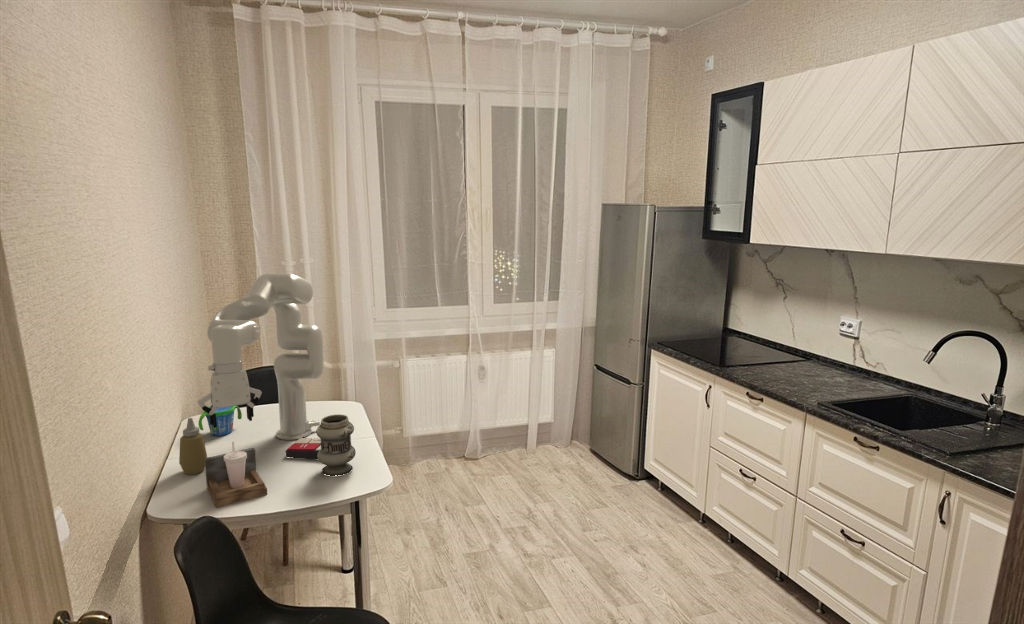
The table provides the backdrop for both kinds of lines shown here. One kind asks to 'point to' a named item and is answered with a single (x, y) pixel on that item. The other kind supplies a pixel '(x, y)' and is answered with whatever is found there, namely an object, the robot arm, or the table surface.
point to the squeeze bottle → (192, 449)
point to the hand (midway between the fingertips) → (232, 422)
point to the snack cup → (221, 420)
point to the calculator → (304, 448)
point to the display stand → (221, 485)
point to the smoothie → (236, 467)
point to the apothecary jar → (335, 444)
